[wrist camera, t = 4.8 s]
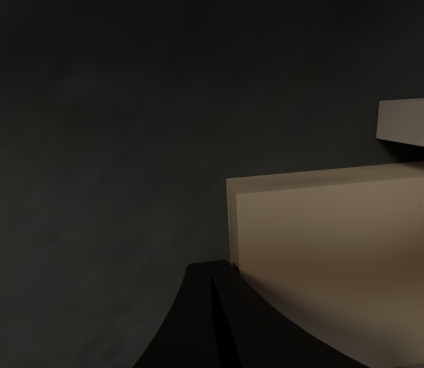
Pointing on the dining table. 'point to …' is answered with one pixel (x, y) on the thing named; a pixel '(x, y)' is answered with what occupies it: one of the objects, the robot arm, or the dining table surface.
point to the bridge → (402, 131)
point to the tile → (338, 255)
